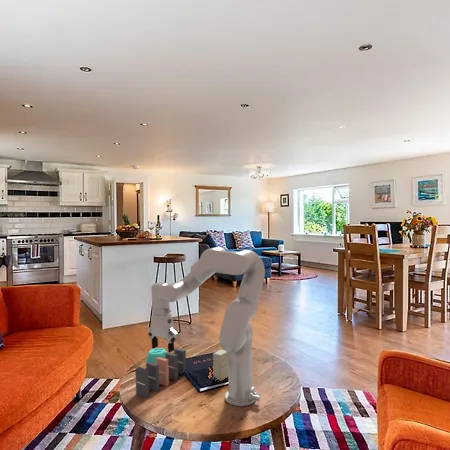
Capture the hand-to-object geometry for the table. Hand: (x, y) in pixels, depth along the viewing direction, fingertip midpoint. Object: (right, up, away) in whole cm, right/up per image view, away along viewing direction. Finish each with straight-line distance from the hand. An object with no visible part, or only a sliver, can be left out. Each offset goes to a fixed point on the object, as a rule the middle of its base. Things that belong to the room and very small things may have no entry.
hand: (163, 349), depth 152 cm
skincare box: (+26, -15, +4) cm, 30 cm away
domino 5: (+6, -15, +11) cm, 19 cm away
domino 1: (-7, -16, -9) cm, 20 cm away
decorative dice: (-6, -15, +17) cm, 24 cm away
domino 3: (0, -15, +1) cm, 15 cm away
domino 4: (+3, -15, +6) cm, 16 cm away
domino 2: (-4, -16, -4) cm, 16 cm away
